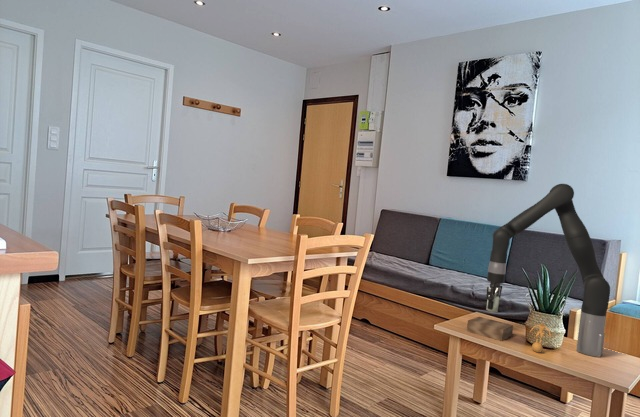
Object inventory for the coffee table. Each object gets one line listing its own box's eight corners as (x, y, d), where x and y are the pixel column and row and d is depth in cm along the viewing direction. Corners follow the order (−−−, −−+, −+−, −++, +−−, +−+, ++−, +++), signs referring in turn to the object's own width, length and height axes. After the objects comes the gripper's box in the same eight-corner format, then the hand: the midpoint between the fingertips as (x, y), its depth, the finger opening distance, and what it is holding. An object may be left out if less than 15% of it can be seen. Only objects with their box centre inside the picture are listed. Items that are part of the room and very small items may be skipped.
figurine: (524, 349, 188) (527, 321, 188) (530, 347, 192) (534, 319, 192) (545, 356, 182) (548, 326, 182) (551, 353, 186) (554, 325, 186)
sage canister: (499, 311, 208) (500, 296, 208) (495, 312, 204) (497, 297, 204) (488, 308, 211) (490, 294, 211) (484, 310, 208) (486, 295, 207)
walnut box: (512, 335, 208) (513, 325, 208) (501, 340, 198) (503, 329, 197) (478, 326, 219) (479, 316, 218) (466, 331, 208) (467, 320, 208)
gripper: (499, 274, 200) (495, 312, 200) (510, 272, 211) (505, 308, 211) (482, 271, 204) (478, 308, 205) (493, 269, 215) (489, 304, 216)
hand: (492, 308), depth 208 cm, fingers closed on sage canister, 5 cm apart
